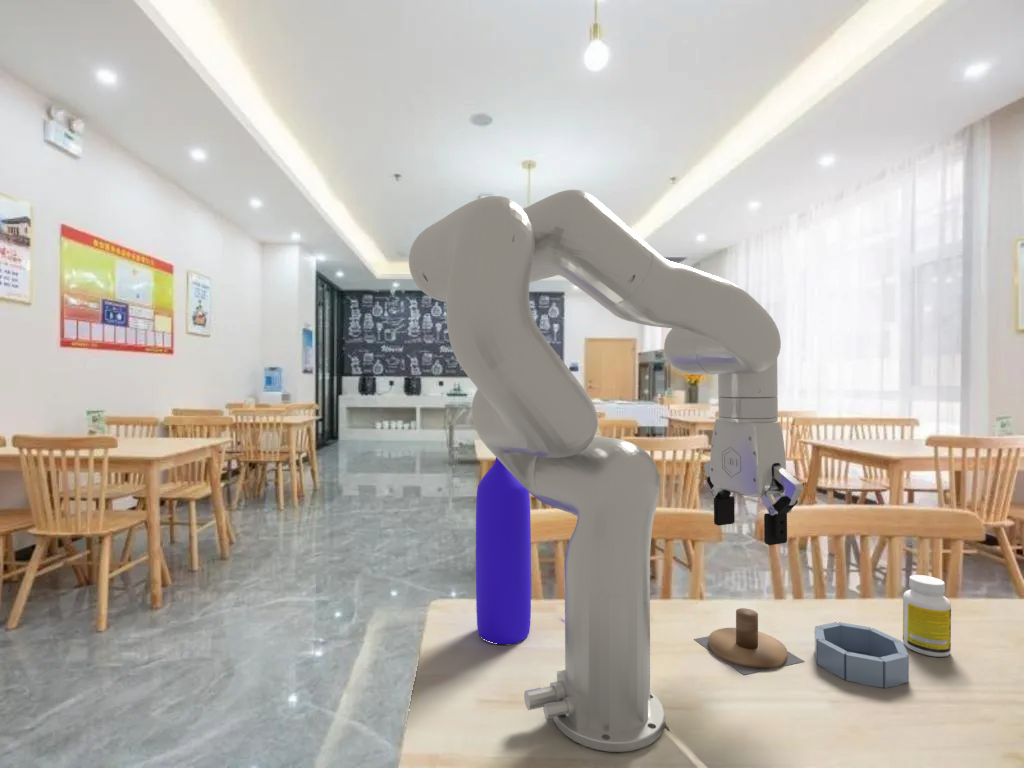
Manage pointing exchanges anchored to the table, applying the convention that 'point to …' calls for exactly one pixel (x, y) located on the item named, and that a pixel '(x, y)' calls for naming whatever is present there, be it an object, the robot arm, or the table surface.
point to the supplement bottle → (927, 617)
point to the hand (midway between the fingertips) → (748, 533)
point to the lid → (747, 643)
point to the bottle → (503, 557)
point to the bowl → (861, 654)
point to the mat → (744, 670)
